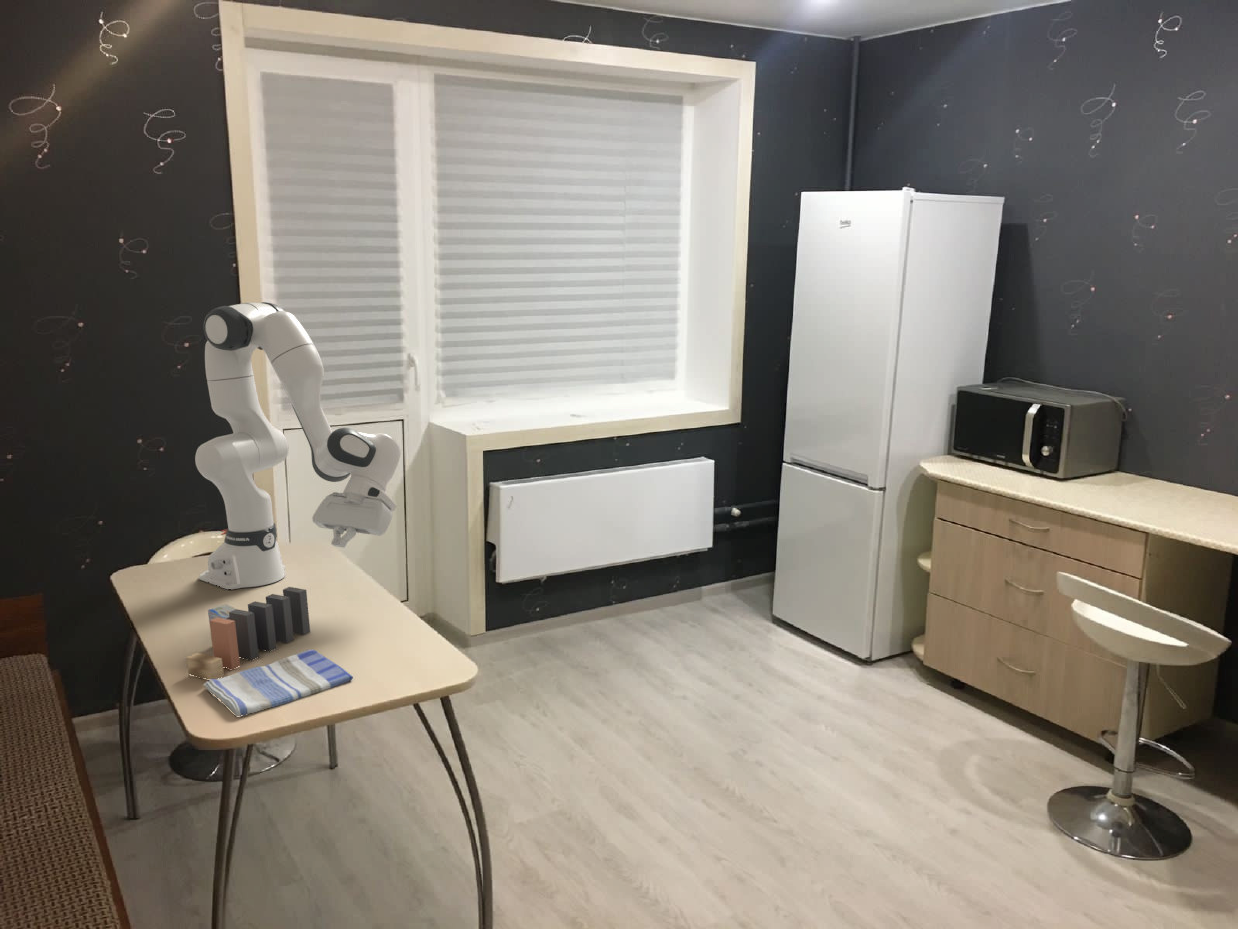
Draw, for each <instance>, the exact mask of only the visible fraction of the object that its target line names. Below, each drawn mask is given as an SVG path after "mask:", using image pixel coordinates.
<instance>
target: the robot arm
mask: <svg viewBox="0 0 1238 929" xmlns="http://www.w3.org/2000/svg"><path fill="white" fill-rule="evenodd" d="M203 332H204V335H205V338H206V340H207V341H206V342H205V346H204V367H205V376H206V382H207V388H208V393H209V399H210V404H211V405H210V406H211V409H212V411H213V412H214V413H215V415H217V416H218V417H221V418H223V419H224V420H225V419H226V421H227V422H228V423H229V426H230V427H231V430H232V432H233V433H230V434H226V435H221V436H216V437H214V438H212V439H210V440H208V441H206V442H204V443H202V444H200V446H198V447H197V449H196V452H195V457H194V459H195V467H196V469H197V471H198V472H199V473H200V475H202V477H203V478H205V479H206V480H208V481H210V482H212V484H213V485H214V486H215V487H217V489H218V490H219V493H220V495H221V496H222V499H223V502H224V506H225V513H226V521H227V526H228V528H226V529H223V530H220V532H221V535H222V536H223V535H224V536H225V537H224V542H223V543H222V544H220V545H219V546H218V547H217V548H216V549H215V550H214V551H213V552H211V553H210V554H209V556H208V559H207V570H205V571H204V572H201V573H200V574H199V577H198V579H199V580H200V581H202V582H205V583H208V582H209V583H208V584H211V585H214V586H216V585H217V586H216V587H219V586H220V588H223V589H225V590H228V589H231V590H236V589H242V588H253V587H254V588H255V587H260V586H261V587H262V586H265V585H269V584H273V583H277V582H278V581H280V580H282V579H283V578H285V577H286V571H285V570H286V565H285V564H283V561H282V555H281V550H280V546H279V543H278V540H277V537H278V535H277V534H278V533H277V527H276V523H274V522H275V521H274V515H273V514H274V513H273V506H272V505H273V504H272V497H271V495H270V494H269V493H268V491H266V490H265V489H262V488H259V487H258V486H257V485H256V482H255V480H254V475H253V474H255V473H258V472H262V471H267V470H269V469H272V468H273V467H276V466H277V465H279V464H281V463H283V462H284V461H285V460H286V459H287V457H288V454H289V443H288V440H287V438H286V436H285V434H284V433H283V432H282V431H281V430H280V429H278V428H276V427H275V426H273V425H272V424H271V422H270V421H269V420H268V418H267V417H266V415H265V413H264V411H263V409H262V407H261V404H260V401H259V395H258V391H257V385H256V380H255V374H254V369H253V365H252V356H253V353H254V352H255V350H257V349H258V350H260V351H264V353H265V355H266V356H267V358H268V360H269V363H270V364H271V366H272V368H273V371H274V372H275V374H276V376H277V378H278V379H279V382H280V383H281V386H282V387H283V388H284V391H285V392H286V396H287V397H288V400H289V401H290V403H291V406H292V409H293V411H294V414H295V415H296V418H297V421H298V422H299V425H300V427H301V429H302V431H303V433H304V436H305V438H306V440H307V442H308V445H309V447H310V452H311V455H310V456H311V465H312V467H313V470H314V472H315V474H316V475H317V476H319V477H320V478H321V479H322V480H324V481H326V482H331V483H332V482H333V483H336V482H337V483H338V482H341V481H345V480H346V479H348V478H349V480H348V482H347V483H346V486H345V487H344V490H343V491H342V492H336V491H335V492H334V491H333V492H332V493H329V494H327V495H326V496H325V498H324V499H322V501H321V503H320V504H319V505H318V506H317V508H316V510H315V512H313V515H312V518H311V519H312V523H314V524H315V525H316V526H317V527H318V528H321V529H327V530H333V531H332V532H333V538H332V540H331V545H332V546H333V547H336V548H337V547H338V548H346V546H347V544H348V542H349V541H351V540H352V539H354V538H355V537H356V534H363V535H365V534H366V535H370V536H379V537H380V536H383V535H384V534H385V533H386V532H387V530H388V529H389V526H390V524H391V521H392V518H393V512H394V511H395V510H396V508H397V506H398V505H397V503H396V502H395V501H394V500H393V498H391V497H390V495H388V494H387V493H386V491H387V490H386V489H387V484H388V483H389V482H390V481H391V479H392V478H393V476H394V475H395V472H396V469H397V467H398V465H399V462H400V458H401V454H402V453H401V451H402V450H401V447H400V445H399V443H398V442H397V440H396V439H394V438H393V437H392V436H390V435H389V434H386V433H383V432H376V433H366V432H361V431H357V430H355V429H353V428H349V427H339V428H338V429H335V430H334V431H333V430H332V427H331V425H330V422H329V421H328V419H327V416H326V414H325V412H324V410H323V406H322V401H321V391H322V385H323V381H324V375H325V369H324V365H323V364H324V363H323V361H322V359H321V356H320V354H319V351H318V350H317V349H318V348H317V347H316V346H315V344H314V342H313V341H312V338H311V337H310V335H309V334H308V332H307V330H306V329H305V327H304V326H303V325H302V324H301V321H299V320H298V319H297V317H296V316H295V315H294V314H293V313H291V312H289V311H285V309H283V308H282V307H281V306H279V305H277V304H275V303H272V302H266V301H263V302H242V303H239V304H232V305H229V306H228V305H223V306H219V307H216V308H214V309H212V310H210V311H209V312H208V313H207V314H206V315H205V318H204V320H203ZM345 532H346V533H345ZM284 569H285V570H284Z"/></svg>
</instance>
